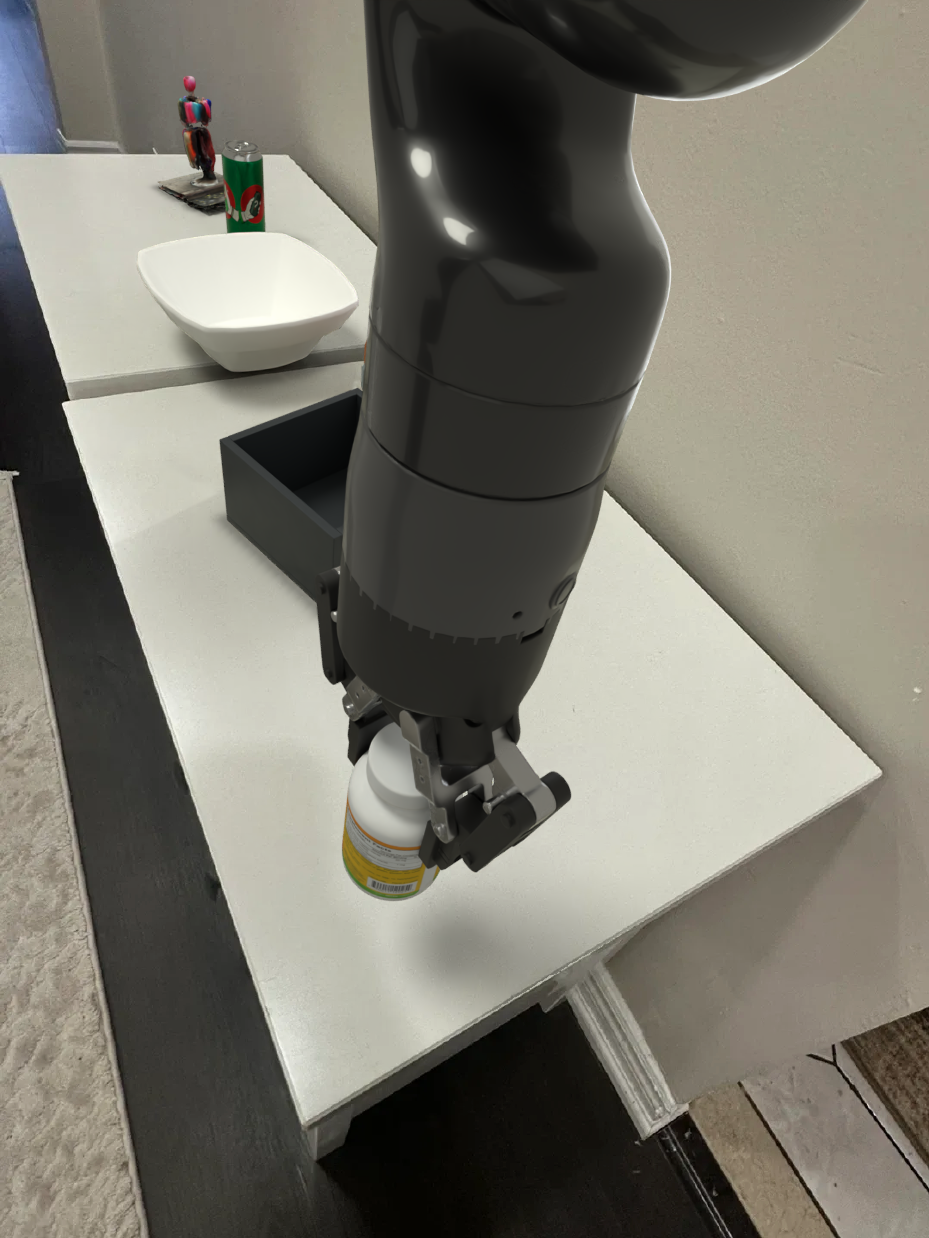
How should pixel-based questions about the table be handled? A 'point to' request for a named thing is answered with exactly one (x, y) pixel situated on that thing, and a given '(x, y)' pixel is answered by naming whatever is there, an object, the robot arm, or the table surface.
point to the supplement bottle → (386, 822)
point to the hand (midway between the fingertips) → (404, 802)
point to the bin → (293, 485)
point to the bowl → (248, 295)
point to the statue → (197, 154)
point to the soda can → (243, 186)
